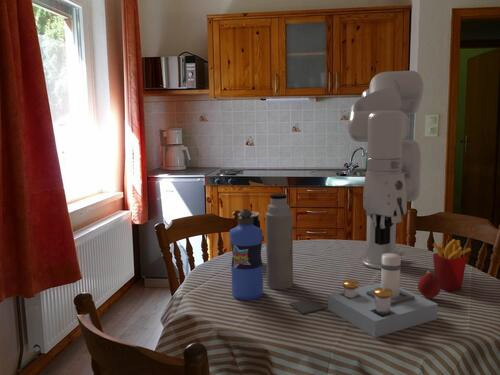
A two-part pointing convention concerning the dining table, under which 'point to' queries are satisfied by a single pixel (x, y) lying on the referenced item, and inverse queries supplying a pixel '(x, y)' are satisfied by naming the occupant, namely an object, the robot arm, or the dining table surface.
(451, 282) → the french fries
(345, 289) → the plunger
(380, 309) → the plunger
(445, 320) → the dining table surface
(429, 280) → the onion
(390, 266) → the cartridge
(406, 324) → the housing
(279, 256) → the thermos bottle
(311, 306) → the pad
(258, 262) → the water bottle
